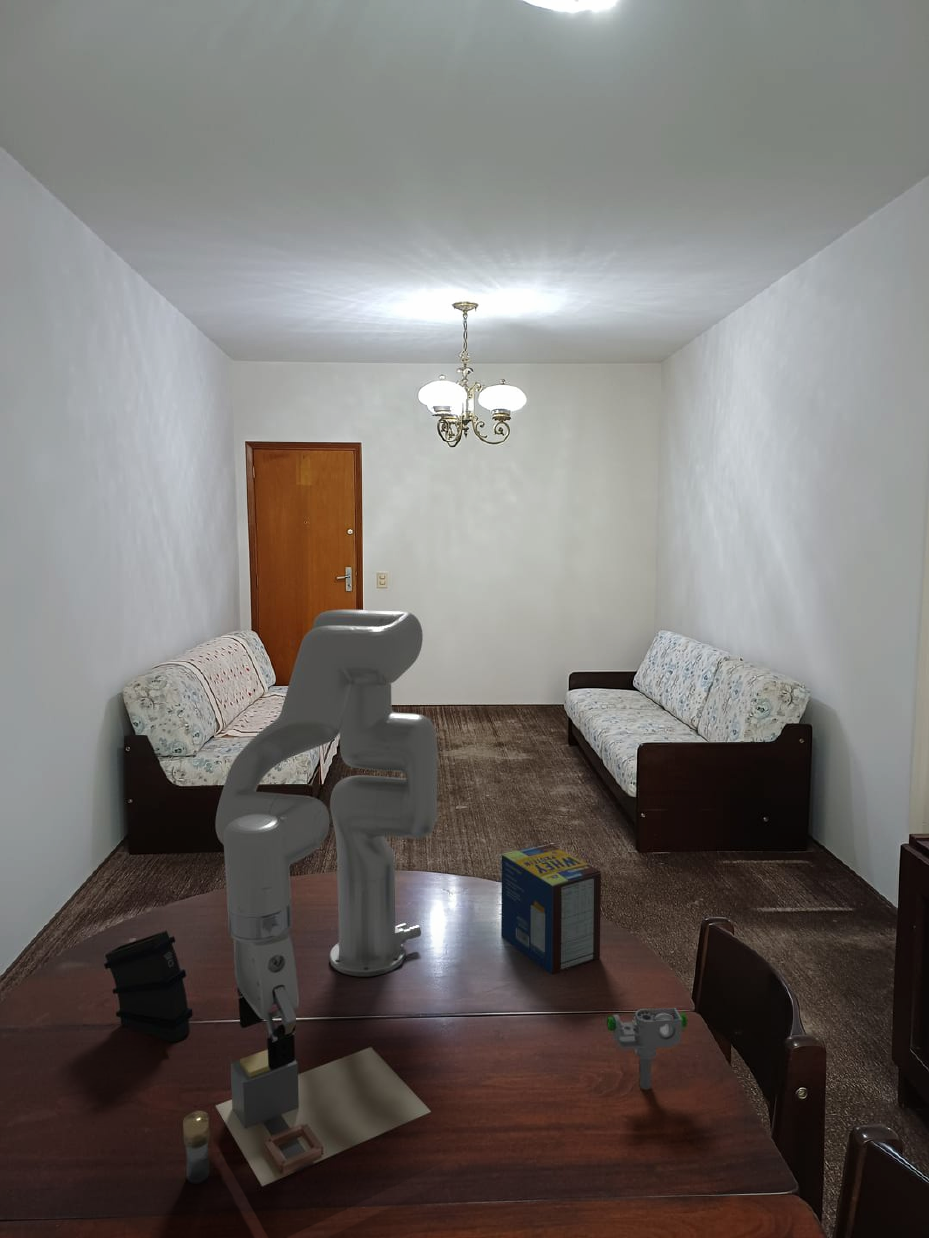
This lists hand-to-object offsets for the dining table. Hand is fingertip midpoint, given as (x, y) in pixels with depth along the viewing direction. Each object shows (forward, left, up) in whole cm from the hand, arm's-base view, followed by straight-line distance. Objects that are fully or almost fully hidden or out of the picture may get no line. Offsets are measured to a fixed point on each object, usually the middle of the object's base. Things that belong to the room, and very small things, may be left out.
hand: (266, 1043), depth 111 cm
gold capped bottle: (+11, +6, -9) cm, 15 cm away
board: (-5, +5, -9) cm, 12 cm away
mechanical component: (-43, +23, -10) cm, 50 cm away
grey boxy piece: (+1, +1, -8) cm, 8 cm away
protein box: (-56, -13, -10) cm, 59 cm away
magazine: (+8, -27, -10) cm, 30 cm away
